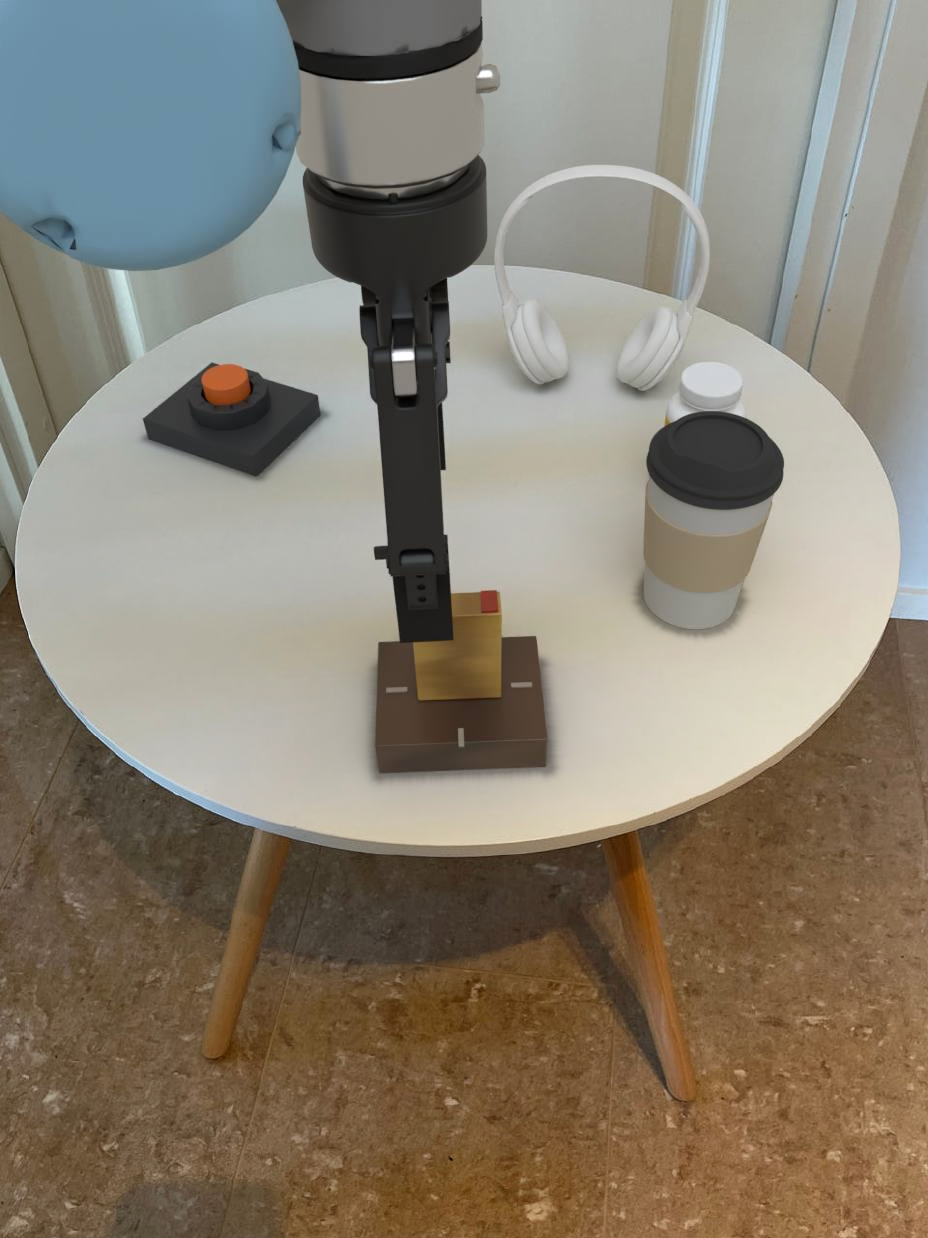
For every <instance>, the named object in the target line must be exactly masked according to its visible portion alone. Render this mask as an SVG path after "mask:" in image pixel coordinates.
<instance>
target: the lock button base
mask: <svg viewBox="0 0 928 1238" xmlns="http://www.w3.org/2000/svg"><path fill="white" fill-rule="evenodd" d="M218 365H220V364H219V363H216V362H210V363H209V364H208V365H207V366H205V367H204V368H203V369H202V370H200V371H199V372H198V373H197V374H196V375H194V376H193V377H192V378H191V379H189V380H188V381H187V382H186V383H184V384H183V385H182V386H180V388H178V389H177V390H175V392H174V393H172V394H171V395H170V396H169V397H167V398H166V399H165V400H164V401H162V402H161V403H160V404H158V406H157V407H155V408H154V409H153V410H152V411H150V412H149V413H148V414H147V415H145V416H144V417H143V418H142V422H143V426H144V428H145V429H144V430H145V432H146V436H147V439H148V440H151V441H154V442H156V443H159V444H162V445H165V446H168V447H171V448H173V449H176V450H179V451H182V452H185V453H188V454H191V455H194V456H197V457H199V458H202V459H204V460H209V461H212V462H213V463H214V462H215V463H217V464H219V465H222V466H226V467H229V468H230V469H234V470H237V471H240V472H243V473H245V474H248V475H252V476H254V477H258V476H259V475H260V474H261V473H262V472H263V471H264V470H265V469H266V468H267V467H268V466H270V465H271V463H272V462H274V461H275V460H276V459H277V458H278V457H279V456H280V455H281V454H282V453H283V452H284V451H285V450H286V449H287V448H288V447H289V446H290V445H292V443H293V442H295V441H296V439H297V438H299V436H301V435H302V433H304V432H305V431H306V430H307V429H308V428H309V427H310V426H311V425H313V424H314V422H315V421H316V420H317V419H318V418H319V417H320V416H321V415H322V413H321V407H320V400H319V395H318V394H317V393H313V392H310V391H306V390H303V389H299V388H296V387H293V386H290V385H286V384H284V383H280V382H277V381H273V380H270V379H268V378H264V377H263V376H262V374H261V373H259V372H258V371H255V370H251V369H248V368H244V367H243V368H244V369H245V370H246V371H247V374H248V379H249V384H250V389H251V392H250V395H249V396H248V397H247V398H246V399H245V400H243V401H241V402H238V403H235V404H232V405H215V404H212V403H209V402H208V401H207V399H206V397H205V394H204V389H203V385H202V376H203V374H204V373H205V372H206V371H207V370H209V369H210V368H212V367H215V366H218Z"/></svg>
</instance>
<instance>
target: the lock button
mask: <svg viewBox="0 0 928 1238" xmlns="http://www.w3.org/2000/svg"><path fill="white" fill-rule="evenodd" d="M245 369H246V368H245ZM245 369H244V367H242V366H241V365H238V364H234V363H224V364H219V365H218V366H215V367H212V368H210V369H209V370H207V371H206V372H205V373H204V374H203V376H202V385H203V389H204V394H205V397H206V399H207V401H208V402H209V403H212V404H215V405H232V404H235V403H238V402H241V401H243V400H245V399H246V398H247V397H248V396H249V395H250V392H251V389H250V384H249V379H248V374H247V371H246V370H245Z"/></svg>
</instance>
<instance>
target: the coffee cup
mask: <svg viewBox="0 0 928 1238" xmlns="http://www.w3.org/2000/svg"><path fill="white" fill-rule="evenodd" d="M645 463H646V464H645V465H646V470H647V472H648V479H647V482H646V485H645V492H644V493H645V499H644V517H643V518H644V519H643V520H644V523H643V547H642V548H643V549H642V553H643V555H642V556H643V559H644V571H643V572H644V573H643V600H644V602H645V604H646V606H647V607H648V609H649V610H650V612H651V613H652V614H653V615H655V617H657V618H658V619H660V620H661V621H663V622H665V623H667V624H668V625H671V626H674V627H678V628H680V629H687V630H705V629H706V630H707V629H711V628H714V627H717V626H719V625H721V624H723V623H725V622H726V621H727V620H728V619H729V618H730V617H731V616H732V614H733V613H734V611H735V608H736V605H737V603H738V599H739V597H740V594H741V592H742V588H743V585H744V582H745V579H746V578H747V577H748V575H749V573H750V571H751V568H752V566H753V562H754V560H755V558H756V554H757V551H758V548H759V546H760V543H761V539H762V537H763V534H764V531H765V529H766V526H767V522H768V520H769V517H770V514H771V511H772V508H773V499H774V496H775V493H777V491H778V490H779V489H780V487H781V485H782V483H783V480H784V468H785V459H784V455H783V453H782V451H781V449H780V447H779V446H778V445H777V443H776V442H775V441H774V440H773V439H772V438H771V437H770V436H769V435H768V433H767V432H766V431H765V430H764V429H763V428H762V427H761V426H760V425H759V424H757V423H756V422H754V421H753V420H751V419H749V418H747V417H746V418H744V417H742V416H739V415H735V414H731V413H727V412H719V411H703V412H696V413H692V414H688V415H686V416H683V417H681V418H680V419H678V420H677V421H674V422H672V423H670V424H668V425H666V426H665V425H664V426H663V427H661V428H660V429H658V431H657V432H656V433H654V435H653V436H652V438H651V440H650V442H649V446H648V452H647V455H646V460H645Z"/></svg>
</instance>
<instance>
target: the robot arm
mask: <svg viewBox="0 0 928 1238" xmlns="http://www.w3.org/2000/svg"><path fill="white" fill-rule="evenodd" d="M482 1H483V0H0V213H1V214H2V215H3V216H4V217H5V218H6V220H8V221H10V222H12V224H14V225H16V226H17V227H18V228H20V229H21V230H22V231H24V232H25V233H26V234H28V235H30V236H31V237H32V238H34V239H36V240H37V241H38V242H40V243H42V244H44V245H46V246H47V247H50V248H51V249H54V250H55V251H58V252H59V253H62V254H65V255H68V256H69V257H70V258H71V259H73V260H76V261H79V262H81V263H84V264H87V265H90V266H93V267H99V268H104V269H108V270H115V271H127V272H145V271H147V272H148V271H158V270H164V269H168V268H169V269H170V268H173V267H179V266H182V265H185V264H188V263H191V262H195V261H198V260H199V259H202V258H204V257H206V256H208V255H210V254H213V253H215V252H217V251H219V250H220V249H222V248H224V247H225V246H228V245H229V244H230V243H232V242H234V241H235V240H236V239H237V238H239V237H240V236H241V235H242V234H243V233H245V232H246V231H247V230H248V229H250V228H251V227H252V226H253V224H254V223H255V222H256V221H257V220H258V219H259V218H260V217H261V215H263V214H264V213H265V211H266V209H268V207H269V205H270V204H271V202H272V201H273V199H275V197H276V196H277V194H278V191H279V189H280V188H281V186H282V183H283V181H284V180H285V178H286V176H287V173H288V170H289V167H290V164H291V162H292V159H293V156H294V154H295V151H296V155H297V157H298V159H299V161H300V163H301V164H302V165H303V166H304V167H305V170H304V172H303V174H302V188H303V195H304V201H305V208H306V215H307V222H308V228H309V229H308V231H309V236H310V243H311V248H312V251H313V255H314V257H315V258H316V260H317V261H318V263H319V264H320V266H322V268H323V269H325V270H326V271H327V272H329V273H330V274H331V275H332V276H335V278H336V277H337V278H339V279H340V280H343V281H345V282H348V283H353V284H356V285H358V286H360V291H361V293H360V294H361V301H362V305H359V307H358V308H359V309H358V311H359V329H360V336H361V340H362V342H363V343H364V345H365V346H366V351H367V366H368V382H369V384H368V385H369V396H370V399H372V401H373V403H374V404H376V405H377V406H376V407H377V420H378V435H379V447H380V458H381V460H380V461H381V470H382V471H381V473H382V475H381V476H382V485H383V501H384V512H385V513H384V514H385V526H386V540H387V543H386V545H375V546H374V547H373V557H374V560H375V561H382V560H383V561H384V560H385V564H386V565H385V566H386V569H387V570H388V571H387V572H388V575H389V576H390V577H391V578H392V585H393V595H394V602H395V611H396V619H397V620H396V621H397V628H398V636H399V637H398V638H399V641H400V643H412V642H432V641H451V640H454V639H453V620H452V603H451V593H452V587H451V572H450V571H451V570H450V569H451V568H450V554H449V539H448V534H445V526H444V524H445V523H444V507H443V506H444V505H443V488H442V487H443V486H442V471H447V465H446V448H445V447H446V446H445V445H446V444H445V427H444V411H443V402H444V401H446V399H447V398H448V393H449V390H448V389H449V388H448V371H447V364H451V363H452V361H451V359H452V358H451V343H450V341H449V340H450V339H451V318H450V316H451V315H450V302H449V290H448V287H449V286H448V285H449V284H448V279H449V278H453V277H454V276H457V275H459V274H461V273H462V272H464V271H465V270H467V269H468V268H469V267H471V266H472V265H473V264H474V263H475V262H476V261H478V259H479V258H480V257H481V255H482V254H483V252H484V250H485V248H486V245H487V242H488V189H487V185H488V184H487V166H486V163H485V161H484V159H483V158H482V157H481V156H480V154H481V152H482V150H483V148H484V145H485V113H484V112H485V107H484V105H485V104H484V101H483V97H482V95H481V94H491V93H494V92H496V91H497V90H498V89H499V87H500V86H501V74H500V72H499V70H498V67H497V65H495V64H491V63H487V64H482V63H483V56H484V53H483V43H482V42H483V39H484V36H483V34H484V32H483V31H484V29H483V14H482V9H483V8H482V5H483V4H482Z"/></svg>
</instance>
